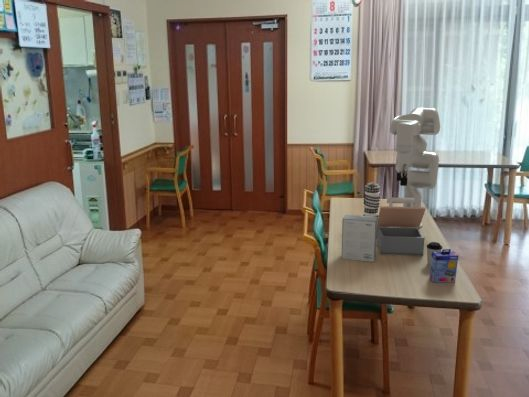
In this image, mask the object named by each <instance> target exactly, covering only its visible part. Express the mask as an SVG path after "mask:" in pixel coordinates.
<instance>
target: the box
mask: <svg viewBox="0 0 529 397" xmlns="http://www.w3.org/2000/svg"><path fill="white" fill-rule="evenodd" d="M376 247H377V248H378V251H379V253H380V255H383V256H385V255H386V256H391V255H393V256H421V257H422V256H423V257H424V250H425V236H424V235H423V233H422V231H421V230H420V228H405V227H378V229H377V242H376Z"/></svg>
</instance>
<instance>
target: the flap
mask: <svg viewBox="0 0 529 397" xmlns="http://www.w3.org/2000/svg"><path fill="white" fill-rule="evenodd" d="M386 203H387V204H389V205H388V206H379V211H378V215H379V216H378V221H377V227H401V228H405V227H414V228H418V229H420V228H421V227H420V224H421V223H422V220H423V218H424V215H425V211H426V210H427V209H426V207H424V206H421V207H413V204H414V203H415V198H404V197H386ZM403 203H406V204H410V207H403V206H394V205H393V204H403ZM419 227H420V228H419Z"/></svg>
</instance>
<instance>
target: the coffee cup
mask: <svg viewBox="0 0 529 397" xmlns="http://www.w3.org/2000/svg"><path fill="white" fill-rule="evenodd" d="M442 250H443V246H442V245H441V244H440V243H439V242H437V241H431V242H429V243H427V245H426V255H427V256H426V259H427V266H429V267H430V265H431V255H432V252H435V251H441V252H442Z"/></svg>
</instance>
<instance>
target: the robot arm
mask: <svg viewBox="0 0 529 397" xmlns="http://www.w3.org/2000/svg"><path fill="white" fill-rule="evenodd" d="M389 131H390V134H392V135H393V136H396V141H395V142H396V144H395V152H396V160H395V168H394V169H395V171H396V172H397V173H396V182H397V181H398V182H400V183H399V185H400V186H402V187H403V192H404V193H403V198H415V203H414V204H413V207H422V193H421V191H420V190H419V189H423V190H434V188H436V185H437V180H438V174H439V173H438V171H439V164H440V163H439V162H440V157H439V154H437V153H436V152H432V151H427V146H428V144H427V141H426V139H425V138H424V136H422V135H425V136H426V135H427V136H436V135H438V134H439V133H440V131H441V121H440V116H439V112H438V110H437V109H436V108H433V107H432V108H431V107H430V108H428V107H416V108H413V109H411V111H410V112H409V113H406V114H402V115H398V116H396V117H394V118H393V119H392V121H391V123H390V126H389ZM410 168H411V170H410ZM413 169H416V170H413ZM418 169H420V170H418ZM424 170H425V171H424ZM426 170H427V171H426ZM402 205H403V206H402V207H410V204H406V203H402ZM422 227H423V223H422V222H421V224H420V227H419V228H418V229H420V228H422ZM404 228H414V227H404Z"/></svg>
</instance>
